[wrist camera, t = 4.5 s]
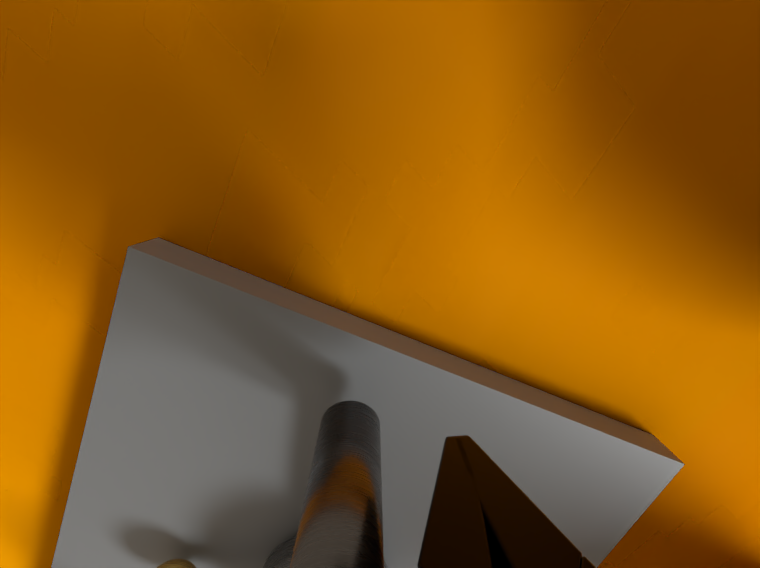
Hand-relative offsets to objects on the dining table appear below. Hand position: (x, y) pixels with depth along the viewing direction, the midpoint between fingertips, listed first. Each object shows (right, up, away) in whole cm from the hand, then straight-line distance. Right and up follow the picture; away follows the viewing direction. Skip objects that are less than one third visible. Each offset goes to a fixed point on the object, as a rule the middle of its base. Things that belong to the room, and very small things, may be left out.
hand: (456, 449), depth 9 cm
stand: (-4, -7, +7) cm, 11 cm away
